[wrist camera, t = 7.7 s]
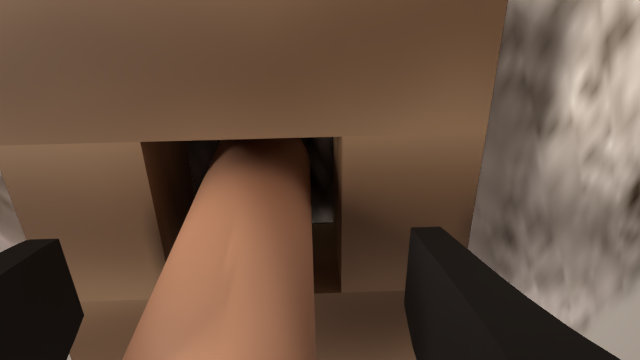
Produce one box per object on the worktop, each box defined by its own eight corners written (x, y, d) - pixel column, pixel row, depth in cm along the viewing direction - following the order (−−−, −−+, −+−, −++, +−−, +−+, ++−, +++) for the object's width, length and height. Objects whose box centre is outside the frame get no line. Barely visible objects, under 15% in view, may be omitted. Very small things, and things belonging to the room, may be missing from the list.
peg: (309, 206, 15) (316, 504, 7) (218, 206, 15) (116, 508, 7) (310, 120, 13) (321, 365, 5) (210, 119, 13) (70, 367, 5)
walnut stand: (420, 293, 17) (447, 372, 14) (123, 304, 16) (81, 386, 13) (456, -31, 12) (512, -26, 9) (32, -24, 11) (-70, -16, 8)
